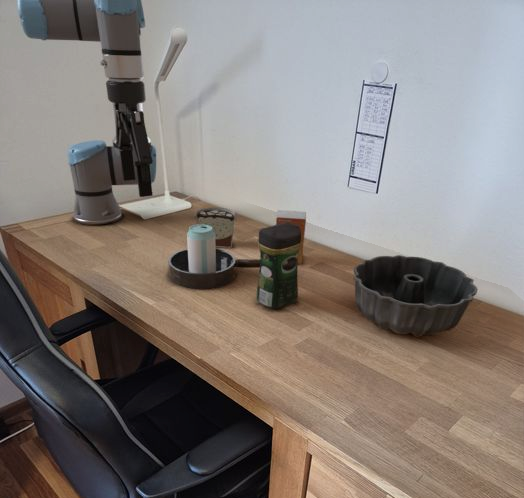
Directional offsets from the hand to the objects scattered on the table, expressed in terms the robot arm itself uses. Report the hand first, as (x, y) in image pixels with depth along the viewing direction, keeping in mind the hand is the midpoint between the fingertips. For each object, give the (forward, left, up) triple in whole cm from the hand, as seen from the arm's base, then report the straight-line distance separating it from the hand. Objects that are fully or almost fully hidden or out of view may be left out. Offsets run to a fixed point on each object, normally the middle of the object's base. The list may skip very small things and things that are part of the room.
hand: (137, 187), depth 104 cm
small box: (-13, +38, -23) cm, 46 cm away
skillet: (-3, +14, -23) cm, 27 cm away
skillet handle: (-3, +29, -21) cm, 36 cm away
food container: (-25, +18, -23) cm, 38 cm away
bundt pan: (+20, +61, -23) cm, 68 cm away
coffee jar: (+12, +32, -23) cm, 41 cm away
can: (-3, +14, -23) cm, 27 cm away
